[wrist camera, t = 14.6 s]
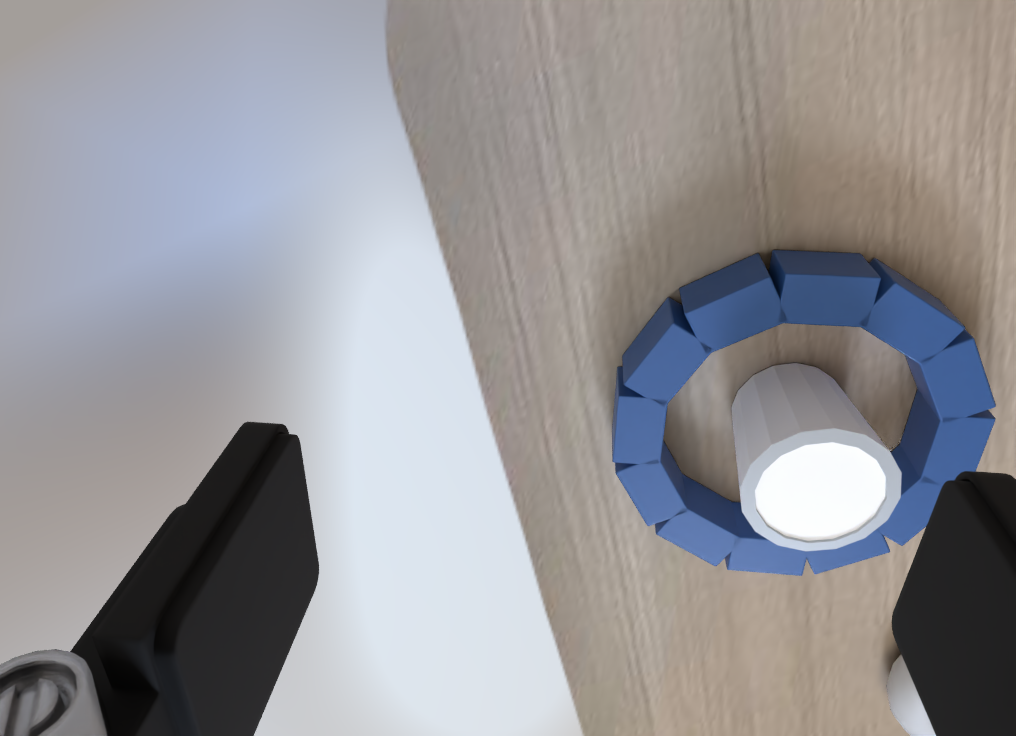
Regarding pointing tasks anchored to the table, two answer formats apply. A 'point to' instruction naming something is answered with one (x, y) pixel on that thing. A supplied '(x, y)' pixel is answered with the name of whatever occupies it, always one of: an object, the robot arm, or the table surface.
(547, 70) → the table surface
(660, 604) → the table surface
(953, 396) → the ring
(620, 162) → the table surface
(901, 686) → the donut
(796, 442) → the white cylinder
